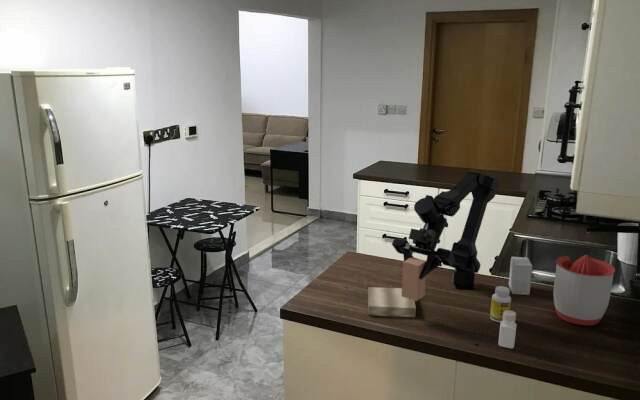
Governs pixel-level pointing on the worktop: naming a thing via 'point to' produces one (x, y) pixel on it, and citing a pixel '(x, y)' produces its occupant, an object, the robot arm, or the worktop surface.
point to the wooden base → (389, 303)
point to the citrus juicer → (582, 289)
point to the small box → (520, 275)
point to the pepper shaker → (507, 329)
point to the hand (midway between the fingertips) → (411, 276)
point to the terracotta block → (413, 279)
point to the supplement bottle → (500, 303)
